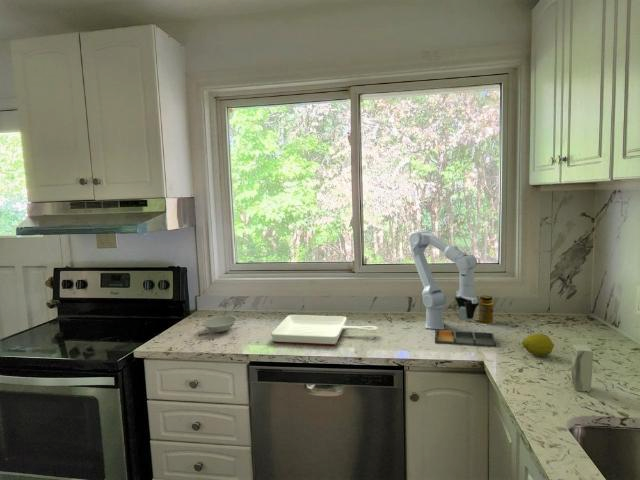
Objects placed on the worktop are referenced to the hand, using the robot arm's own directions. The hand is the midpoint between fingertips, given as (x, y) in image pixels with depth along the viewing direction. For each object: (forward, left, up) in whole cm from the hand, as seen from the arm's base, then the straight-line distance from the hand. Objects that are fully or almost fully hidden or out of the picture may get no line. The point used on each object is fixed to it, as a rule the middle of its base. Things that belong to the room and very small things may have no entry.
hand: (466, 316), depth 177 cm
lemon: (+18, +24, -9) cm, 31 cm away
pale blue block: (0, 0, -1) cm, 1 cm away
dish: (+16, -107, -9) cm, 109 cm away
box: (+43, +31, -9) cm, 53 cm away
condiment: (-20, +9, -9) cm, 24 cm away
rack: (+7, -1, -8) cm, 11 cm away
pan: (+11, -58, -9) cm, 59 cm away
